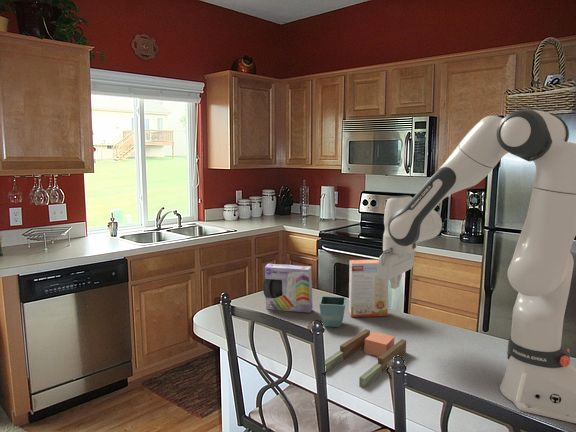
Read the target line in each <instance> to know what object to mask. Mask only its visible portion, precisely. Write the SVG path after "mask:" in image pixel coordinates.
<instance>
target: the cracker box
mask: <svg viewBox="0 0 576 432" xmlns="http://www.w3.org/2000/svg"><path fill="white" fill-rule="evenodd" d="M378 261H379V259H349V263H348V264H349V266H348V267H349V269H348V270H349V272H348V275H349V276H348V277H349V278H348V279H349V281H348V282H349V283H348V313H349V315H350V316H351V318H353V317H354V318H357V317H359V318H362V317H365V318H366V317H388V311H389V310H388V307H389V306H388V305H389V280H388V281H385V280H380V279H378V277H377V268H378Z"/></svg>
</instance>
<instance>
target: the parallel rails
mask: <svg viewBox="0 0 576 432" xmlns="http://www.w3.org/2000/svg"><path fill="white" fill-rule="evenodd" d="M370 334H371V330H370V329H367V328H366V329H363V330H362V331H360V332H359V333H357V334H356V335H354V336H353V337H352V338H351V337H350V339H348V340H347V341H345V342H343V343H342V344H340V345H339V350H338V351H337V352H335V353H333V354H332V355H330V356H329V357H328V358H326V359H324V360H325V366H326V373H327V372H329V371H330V370H331V369H333V368H334V367H336V366H337V365H339V364H340V363H341V362H343V361H345V360H346V359H347V358H349V357H350V356H352V355H353V354H354V353H355V352H358V351H359V350H361V349H362V348H363V347H364V346H365V338H367V337H368V336H369V335H370ZM406 352H407V340H406V339H403V338H402V339H400V340H399V341H398V342H396V343H394V346H392V347H391V348H390V349H388V350H387V351H386V352H385V353H383V354H382V355H381V356H377V363H376V364H375V365H373V366H372V367H370V368H369V369H368V370H366V372H364V373H363V374H362V375H360V376H359V380H358V381H359V384H358V386H359V387H361V388H363V389H364V388H366V387H367V386H369V385H370V384H371V383H372V382H373V381H374V380H376V378H378V377H379V376H381V374H382V373H384V372H385V371H386V370H387V369H388V368H387V362H388V361H389V360H391V359H393V357H394V356H397V355H399V356H401V357H403V356H404V355H405V354H406ZM386 368H387V369H386Z"/></svg>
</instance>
